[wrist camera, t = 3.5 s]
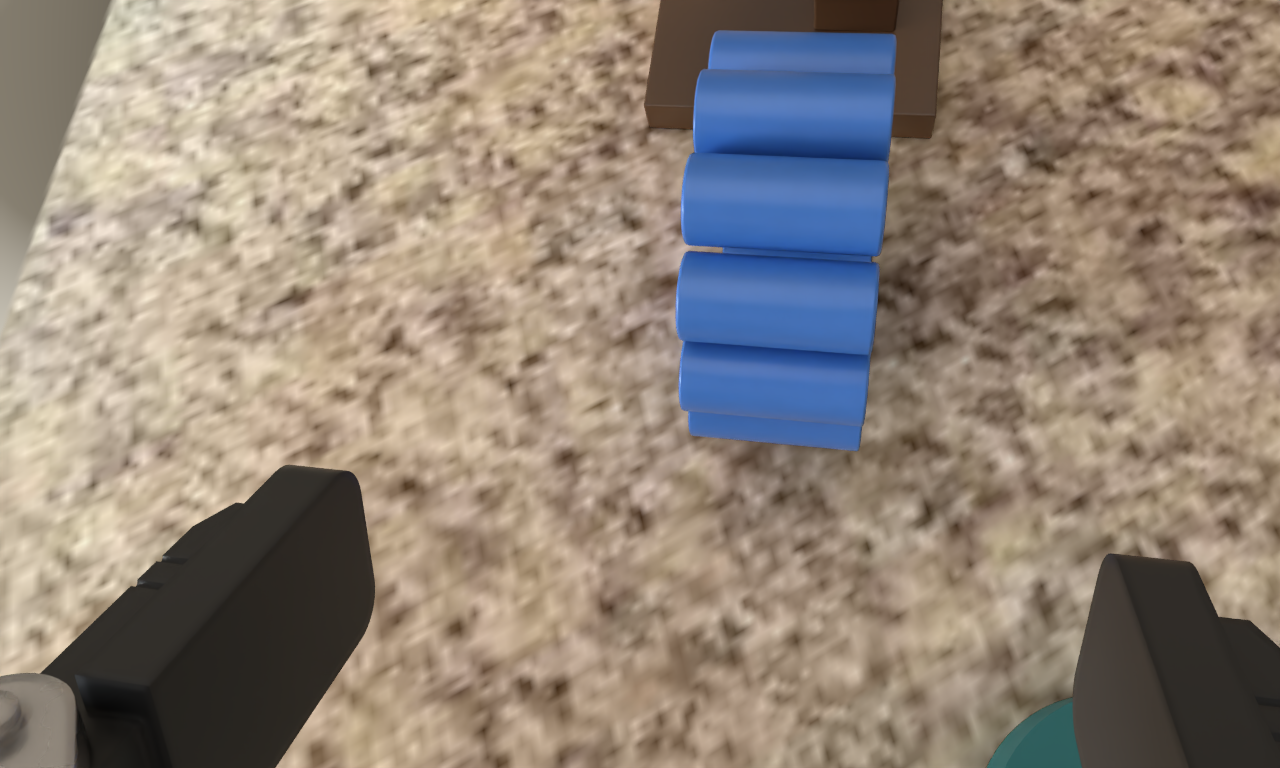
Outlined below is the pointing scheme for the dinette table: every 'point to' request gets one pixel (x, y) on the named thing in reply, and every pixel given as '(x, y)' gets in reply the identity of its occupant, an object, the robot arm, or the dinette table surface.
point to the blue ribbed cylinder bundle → (784, 235)
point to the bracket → (1041, 741)
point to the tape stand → (795, 4)
